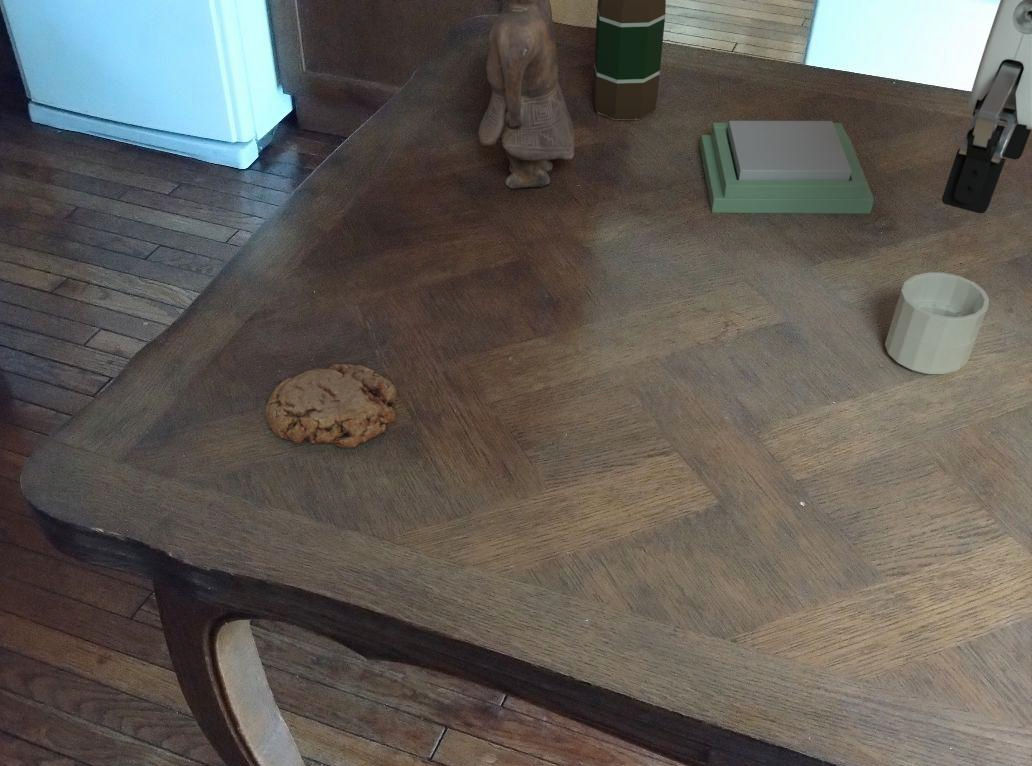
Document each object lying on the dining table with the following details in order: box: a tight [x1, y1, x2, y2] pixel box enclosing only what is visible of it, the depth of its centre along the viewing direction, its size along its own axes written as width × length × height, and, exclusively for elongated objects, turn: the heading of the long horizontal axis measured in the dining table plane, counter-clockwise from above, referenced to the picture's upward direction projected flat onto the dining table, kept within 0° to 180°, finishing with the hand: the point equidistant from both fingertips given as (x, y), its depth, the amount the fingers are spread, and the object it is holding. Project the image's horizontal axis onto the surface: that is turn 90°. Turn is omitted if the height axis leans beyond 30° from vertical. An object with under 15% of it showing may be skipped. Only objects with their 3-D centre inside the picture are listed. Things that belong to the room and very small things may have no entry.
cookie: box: [265, 363, 397, 448], centre depth 86 cm, size 10×11×3 cm
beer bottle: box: [592, 0, 667, 122], centre depth 116 cm, size 8×8×24 cm
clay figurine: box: [477, 0, 575, 190], centre depth 105 cm, size 13×10×25 cm
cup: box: [884, 271, 990, 375], centre depth 89 cm, size 7×7×6 cm
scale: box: [699, 122, 875, 215], centre depth 112 cm, size 16×14×3 cm
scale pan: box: [727, 120, 851, 181], centre depth 110 cm, size 11×11×1 cm
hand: (981, 179), depth 80 cm, fingers open, 9 cm apart
